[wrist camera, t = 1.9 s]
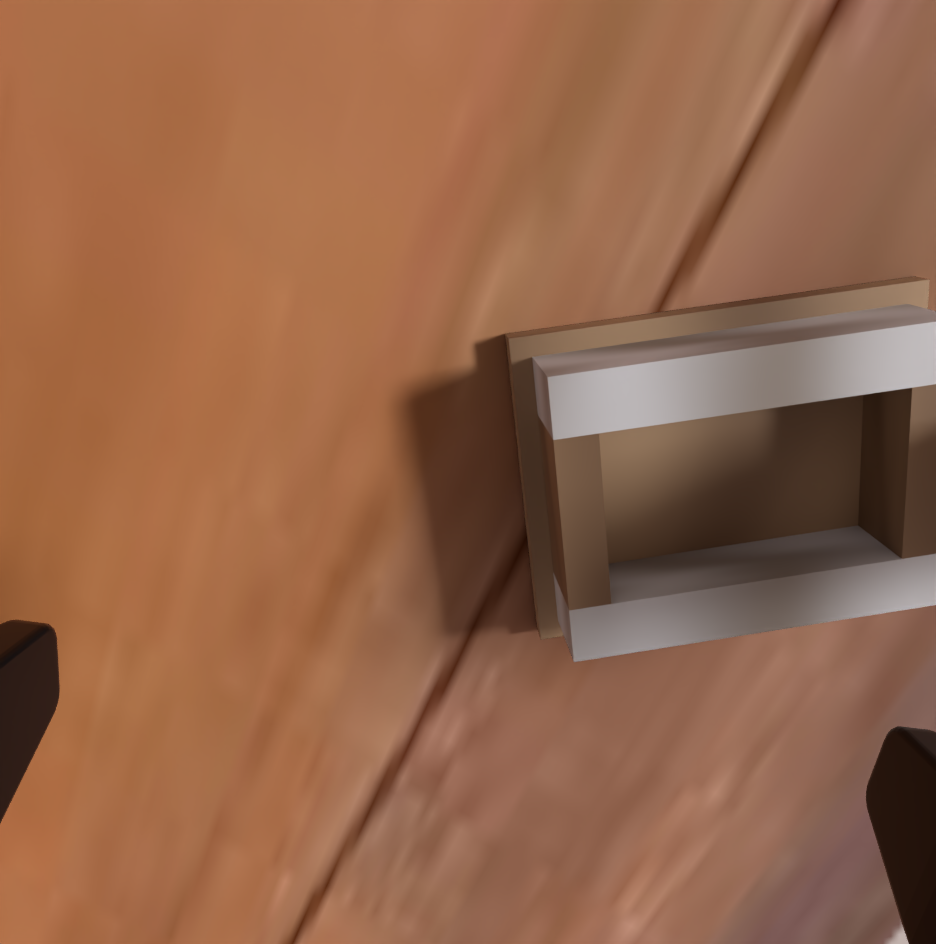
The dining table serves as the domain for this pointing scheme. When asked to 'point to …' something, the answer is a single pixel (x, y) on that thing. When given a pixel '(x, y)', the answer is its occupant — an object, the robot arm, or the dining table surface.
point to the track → (729, 466)
